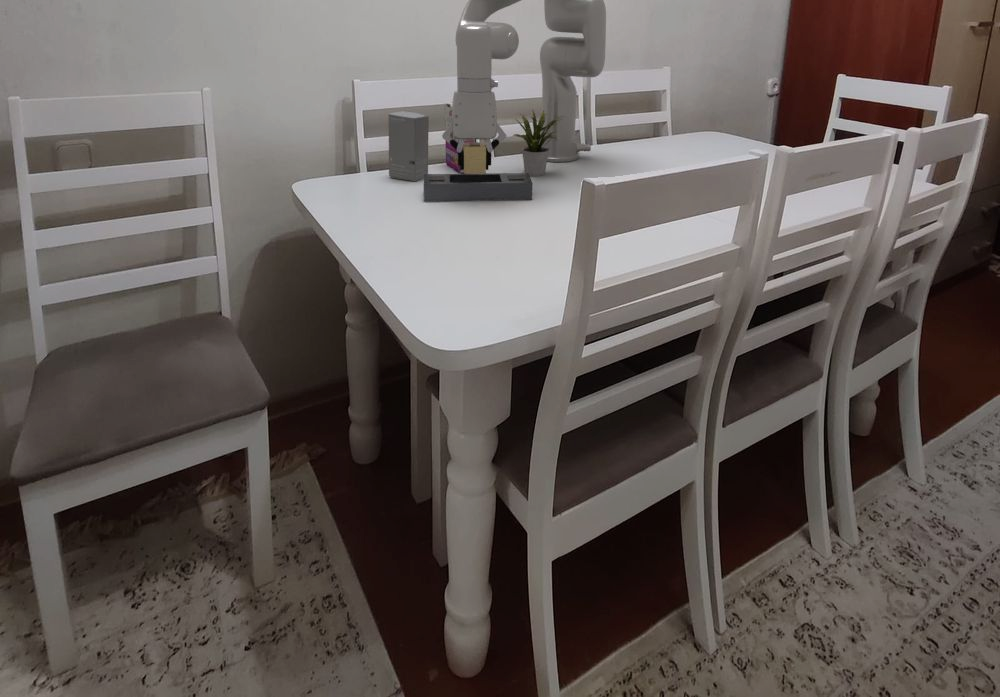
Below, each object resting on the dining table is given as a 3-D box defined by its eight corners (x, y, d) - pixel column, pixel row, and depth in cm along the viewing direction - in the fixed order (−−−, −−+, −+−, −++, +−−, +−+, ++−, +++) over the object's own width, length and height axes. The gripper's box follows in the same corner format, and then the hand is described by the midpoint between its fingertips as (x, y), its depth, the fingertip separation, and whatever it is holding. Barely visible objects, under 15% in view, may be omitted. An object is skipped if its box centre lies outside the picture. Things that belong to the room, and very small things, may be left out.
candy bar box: (477, 172, 187) (477, 107, 180) (460, 174, 186) (459, 108, 178) (462, 162, 196) (461, 100, 189) (445, 164, 194) (443, 102, 187)
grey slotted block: (527, 189, 173) (528, 172, 171) (532, 199, 165) (532, 181, 163) (424, 190, 171) (424, 173, 169) (424, 201, 163) (423, 183, 161)
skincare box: (388, 178, 181) (384, 113, 174) (404, 172, 187) (401, 109, 179) (416, 182, 178) (413, 117, 170) (431, 176, 183) (429, 112, 176)
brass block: (484, 168, 167) (484, 141, 164) (485, 173, 163) (486, 145, 160) (463, 168, 167) (463, 141, 164) (464, 173, 163) (463, 146, 160)
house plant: (565, 182, 179) (568, 115, 171) (510, 181, 179) (511, 114, 172) (562, 168, 192) (565, 105, 184) (510, 167, 192) (511, 104, 184)
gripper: (511, 84, 160) (509, 164, 169) (435, 83, 159) (437, 165, 167) (514, 88, 154) (512, 172, 162) (435, 88, 152) (437, 172, 161)
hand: (474, 167), depth 165 cm, fingers closed on brass block, 5 cm apart
